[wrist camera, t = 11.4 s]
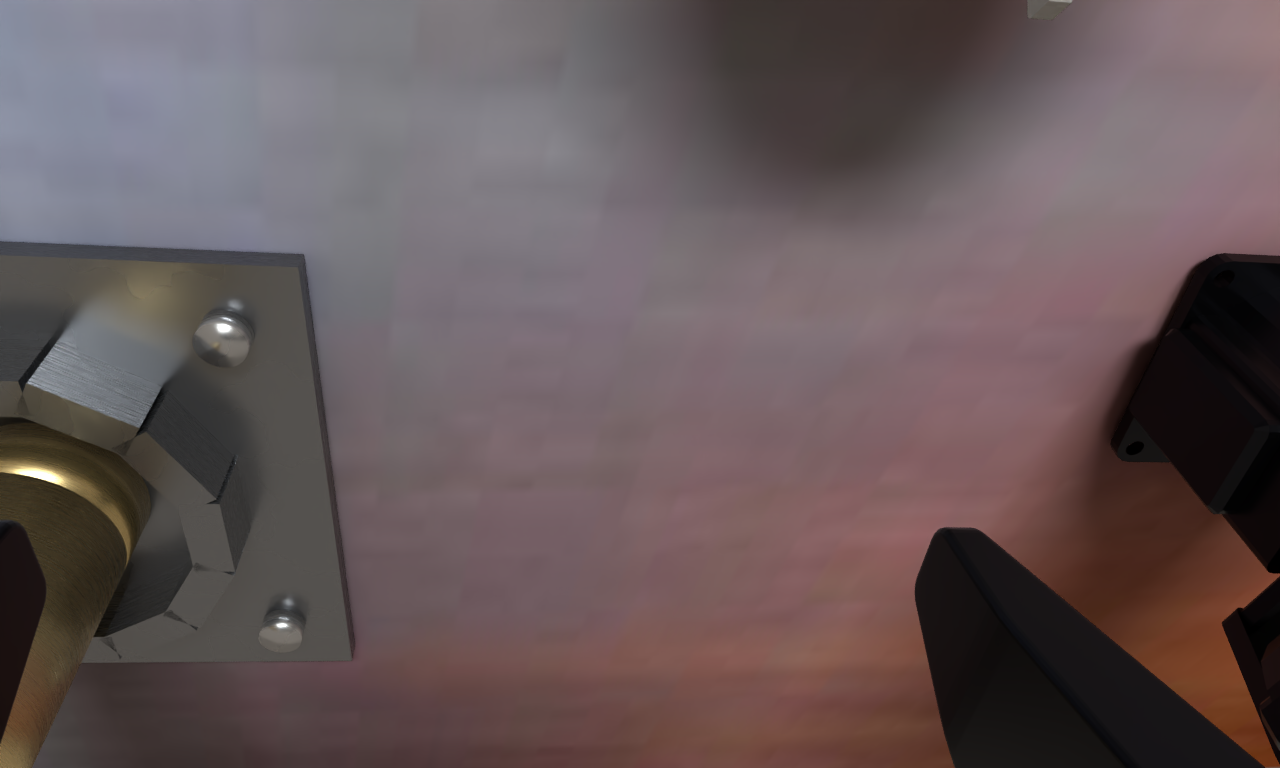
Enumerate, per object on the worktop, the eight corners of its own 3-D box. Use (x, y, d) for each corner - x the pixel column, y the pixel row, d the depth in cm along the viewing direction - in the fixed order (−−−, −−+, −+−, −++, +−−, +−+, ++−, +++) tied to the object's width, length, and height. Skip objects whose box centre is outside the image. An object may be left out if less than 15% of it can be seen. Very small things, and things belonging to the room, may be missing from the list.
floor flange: (303, 254, 22) (282, 305, 20) (354, 645, 30) (342, 705, 28) (-383, 225, 20) (-471, 277, 18) (-128, 648, 28) (-172, 712, 26)
